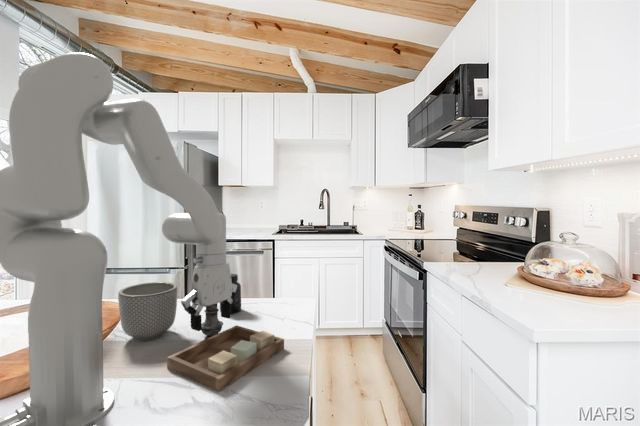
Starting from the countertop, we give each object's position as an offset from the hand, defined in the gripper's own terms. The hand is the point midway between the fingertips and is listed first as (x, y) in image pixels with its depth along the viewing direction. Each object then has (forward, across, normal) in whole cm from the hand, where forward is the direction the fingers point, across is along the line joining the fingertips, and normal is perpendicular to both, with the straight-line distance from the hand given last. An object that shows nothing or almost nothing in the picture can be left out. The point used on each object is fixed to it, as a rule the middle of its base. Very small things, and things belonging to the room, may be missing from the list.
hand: (211, 323), depth 83 cm
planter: (+4, -8, +15) cm, 17 cm away
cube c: (+3, 0, -18) cm, 18 cm away
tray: (+4, -6, -13) cm, 15 cm away
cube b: (+3, -6, -18) cm, 19 cm away
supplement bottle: (+4, +17, +11) cm, 21 cm away
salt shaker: (+4, 0, 0) cm, 4 cm away
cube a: (+3, -12, -18) cm, 21 cm away
